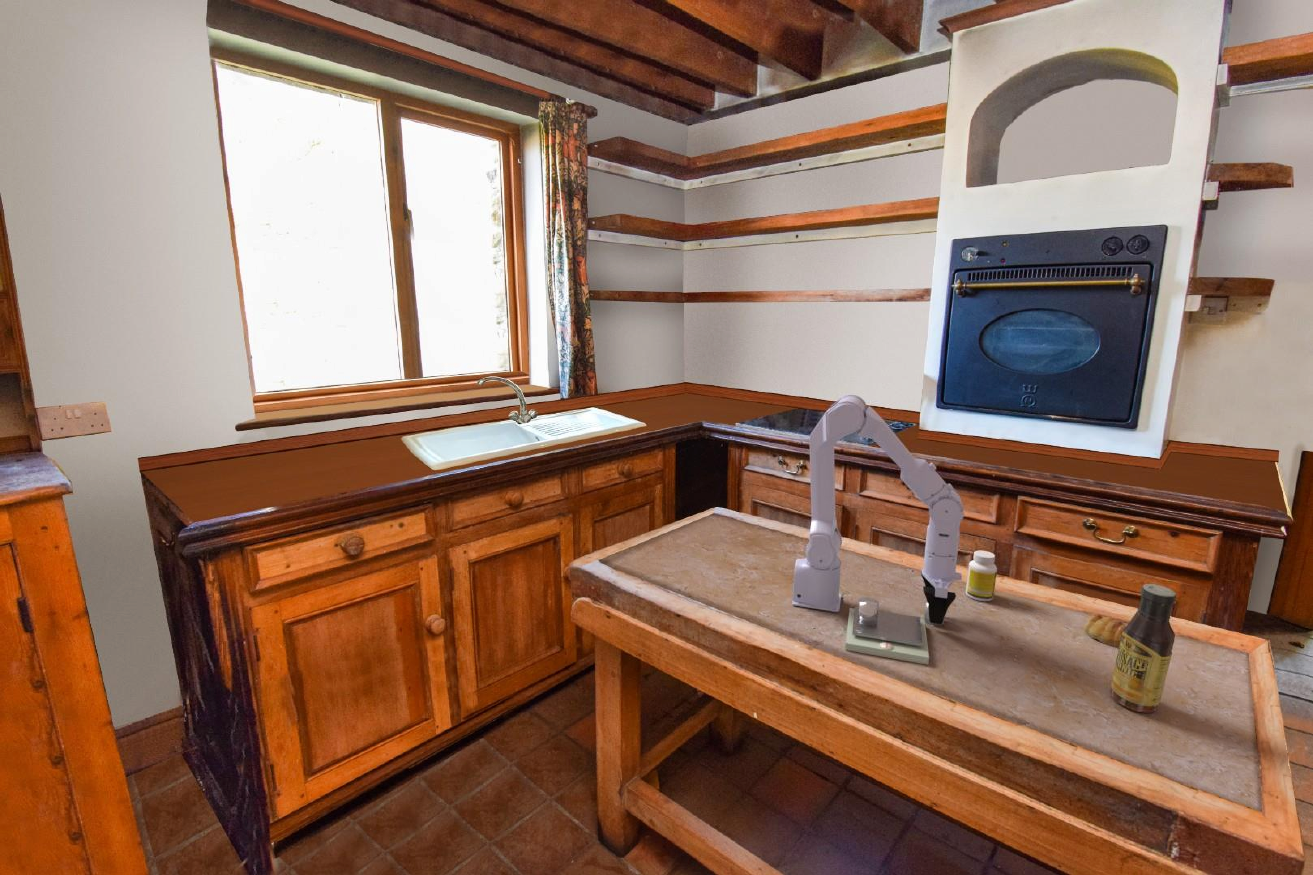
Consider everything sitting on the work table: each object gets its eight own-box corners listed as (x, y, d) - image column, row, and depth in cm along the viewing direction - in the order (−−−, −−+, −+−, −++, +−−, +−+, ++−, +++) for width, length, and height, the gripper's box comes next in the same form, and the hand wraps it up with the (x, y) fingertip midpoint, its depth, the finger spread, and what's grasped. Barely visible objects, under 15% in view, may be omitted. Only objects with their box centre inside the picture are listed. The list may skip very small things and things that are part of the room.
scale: (845, 649, 112) (845, 641, 112) (849, 613, 125) (849, 606, 125) (928, 664, 108) (929, 656, 107) (923, 625, 121) (924, 617, 120)
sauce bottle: (1099, 691, 100) (1119, 579, 96) (1135, 689, 101) (1156, 577, 96) (1133, 718, 94) (1155, 598, 89) (1171, 715, 94) (1195, 597, 90)
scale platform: (851, 639, 114) (852, 631, 114) (854, 613, 123) (854, 606, 123) (921, 651, 110) (922, 643, 110) (919, 624, 119) (919, 616, 119)
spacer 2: (924, 624, 121) (926, 606, 120) (923, 615, 124) (925, 597, 124) (944, 627, 120) (946, 609, 119) (942, 618, 123) (944, 600, 122)
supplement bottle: (997, 603, 129) (1002, 560, 127) (969, 600, 130) (974, 558, 128) (988, 591, 135) (994, 549, 132) (962, 589, 136) (967, 548, 134)
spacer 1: (857, 623, 116) (858, 604, 116) (857, 615, 120) (859, 596, 119) (877, 627, 115) (878, 607, 114) (877, 618, 119) (878, 599, 118)
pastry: (1153, 647, 113) (1156, 628, 112) (1137, 659, 110) (1140, 639, 109) (1095, 625, 121) (1098, 607, 120) (1079, 635, 117) (1082, 617, 116)
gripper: (968, 569, 111) (960, 636, 114) (959, 540, 124) (953, 601, 127) (926, 563, 113) (919, 630, 116) (922, 535, 127) (916, 596, 130)
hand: (934, 615), depth 122 cm, fingers open, 6 cm apart
